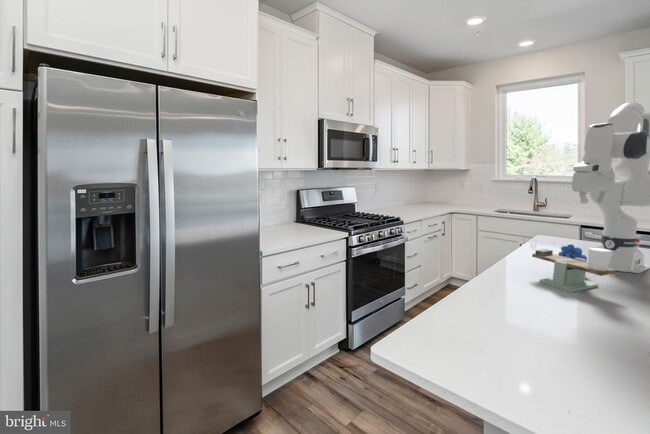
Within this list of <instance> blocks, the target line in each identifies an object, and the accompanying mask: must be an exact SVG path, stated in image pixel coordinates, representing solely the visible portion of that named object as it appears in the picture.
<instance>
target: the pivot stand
mask: <svg viewBox="0 0 650 434" xmlns="http://www.w3.org/2000/svg"><path fill="white" fill-rule="evenodd" d="M575 260H579V261H583V262H587V263H588V259H587V260H584V259H580V258H575ZM553 265H554V266H553V267H554V268H553V274H552V277H547V278H542V279H539V283H542V284H544V285H546V286H550V287H553V288H556V289H559V290H562V291H565V292H567V293H568V292H569V293H574V292H575V293H576V292H579V291H584V290H587V289H595V288H598V287H599V283H595V282H592V281H589V280H586V271H582V270H578V269H575V268H571V267H567V263H564V262H560V261H555V263H554V264H553Z"/></svg>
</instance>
